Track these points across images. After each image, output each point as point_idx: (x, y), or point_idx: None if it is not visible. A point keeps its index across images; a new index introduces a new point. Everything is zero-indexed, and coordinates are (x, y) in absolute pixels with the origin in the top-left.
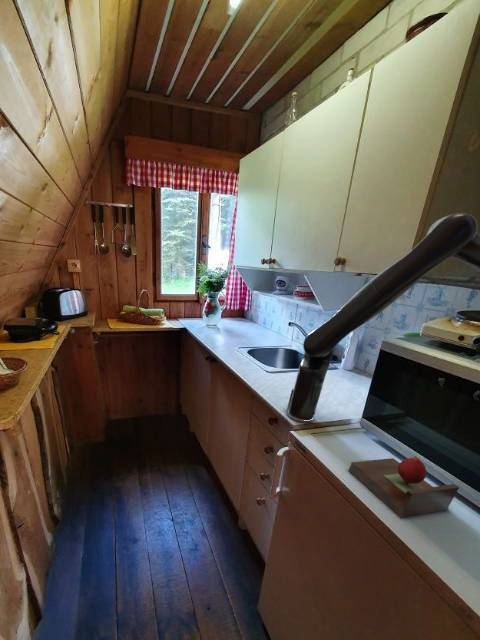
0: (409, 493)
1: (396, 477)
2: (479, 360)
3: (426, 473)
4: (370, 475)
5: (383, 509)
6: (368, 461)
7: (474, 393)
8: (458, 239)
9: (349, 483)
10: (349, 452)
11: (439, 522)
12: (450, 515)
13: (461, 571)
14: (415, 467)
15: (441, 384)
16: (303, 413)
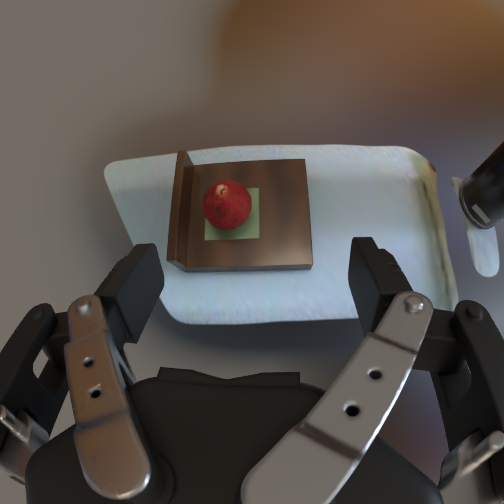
0: (181, 151)
1: None
2: (279, 489)
3: (204, 214)
4: (263, 165)
5: (211, 163)
6: (304, 193)
7: (150, 245)
8: None
9: (271, 150)
10: (362, 215)
11: None
12: None
13: (118, 186)
14: (212, 184)
15: (351, 257)
16: (470, 180)
